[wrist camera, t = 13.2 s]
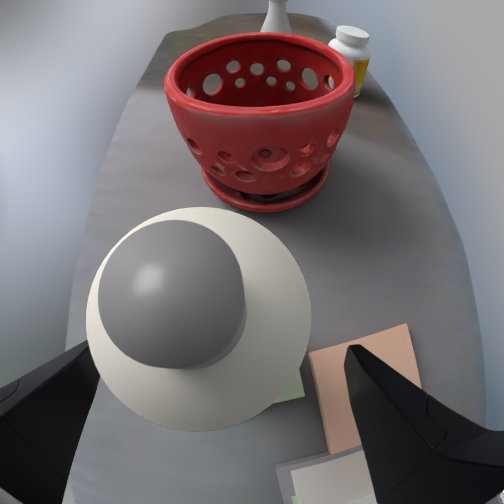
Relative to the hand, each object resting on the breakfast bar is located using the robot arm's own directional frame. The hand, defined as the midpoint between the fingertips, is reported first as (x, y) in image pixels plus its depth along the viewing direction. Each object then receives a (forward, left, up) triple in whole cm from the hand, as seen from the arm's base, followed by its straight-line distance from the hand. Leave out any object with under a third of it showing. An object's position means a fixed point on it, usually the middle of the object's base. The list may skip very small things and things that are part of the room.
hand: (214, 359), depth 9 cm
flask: (+46, -14, -11) cm, 49 cm away
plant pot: (+17, -5, -11) cm, 21 cm away
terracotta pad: (-4, -9, -11) cm, 15 cm away
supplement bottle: (+30, -19, -11) cm, 37 cm away
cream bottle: (+1, 0, -10) cm, 10 cm away
